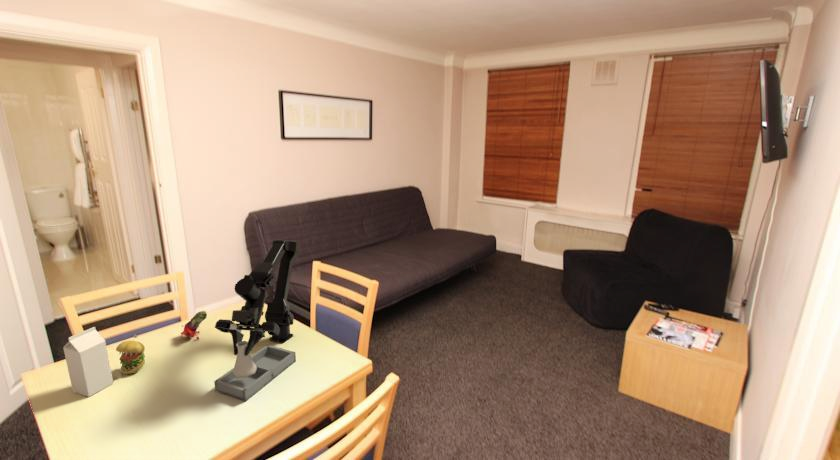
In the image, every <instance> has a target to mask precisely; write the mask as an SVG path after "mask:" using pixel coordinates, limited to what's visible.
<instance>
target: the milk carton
mask: <svg viewBox="0 0 840 460" xmlns="http://www.w3.org/2000/svg"><path fill="white" fill-rule="evenodd" d="M106 342H107V341H106V339H104V337H102V335H101V334H100V333H99V332H98V331H97V329H96V326H93V327H90V328H88V329H86V330H83V331H81V332H78V333H76V334H73V335H71V336H69V337H68V342H67V343H66V344H65V345H64V346H63V353H64V358H65V361H66V366H67V371H68V375H69V379H70V384H71V389H72V391H73V392H74V393H76V394H80V395H82V396H85V397H88V398H89V397H91V396H93V395H95V394H96V393H97V394H98V393H99V392H100V391H103V390H104V389H106V388H108V387H109V386H112V385H113V384H114V379H113V375H112V369H111V365H110V360H109V354H108V349H107V343H106Z"/></svg>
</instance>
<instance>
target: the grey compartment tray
mask: <svg viewBox="0 0 840 460" xmlns="http://www.w3.org/2000/svg"><path fill="white" fill-rule="evenodd" d="M250 357H251V359H252V360H253V362H254V364H255V365H256V367H257V370H256V373H255V374H253V375H250V376H248V377H245V378H235V377H234V376H233V375H232V373H233V369H234V367H233V368H231V369H230V370H229V371H226V373H224V374H223V375H221V376H220V377H218V378H217V379H216V380H214V381H213V383H214V390H215V392H217V393H219V394H223V395H226V396H229V397H231V398H234V399H237V400H241V401H243V402H246V403H247V401H248V400H249V399H251V398H252V397H253V396H254V395H257V393H258V392H260V391H261V390H262V389H263V388H265V387H266V386H267V385H269V384H270V383H271V382H272V381H273V380H274V379H276V378H277V377H278V376H279V375H281V374H282V373H283V372H284V371H285V370H287V369H288V368H289V367H290V366H292V365H293V364H294V363H296V361H297V360H296V351H293V350H288V349H285V348H281V347H278V346H274V345H272V344H271V345H270V344H266V345H265V346H264V347H262V348H261V349H259V350H258V351H256V352H255V353H254V354H252V355H250Z"/></svg>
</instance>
